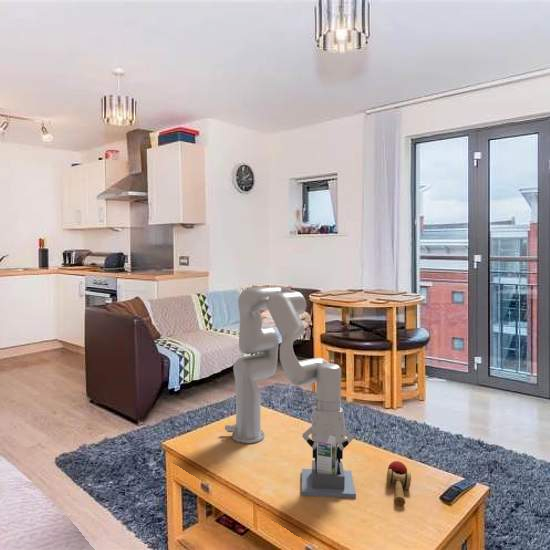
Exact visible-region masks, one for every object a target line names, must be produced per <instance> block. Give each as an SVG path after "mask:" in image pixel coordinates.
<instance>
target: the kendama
mask: <svg viewBox="0 0 550 550" xmlns="http://www.w3.org/2000/svg"><path fill="white" fill-rule="evenodd" d="M385 480H386V481H385V482H386V485H391V484H393V483H395V486H394V487H395V488H394V504H395V505H396V506H397V507H403V506H405V504H406V499H405V495H404V489H405V490H408V491H409V490H410V488H411V482H412V473H410V472H408V469H407V466H406V465H405V464H404V463H403V462H402V461H399V460H397V461H392V462H391V463H389V465H388V467H387V473H386V479H385ZM403 488H404V489H403Z"/></svg>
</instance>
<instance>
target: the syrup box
mask: <svg viewBox="0 0 550 550" xmlns="http://www.w3.org/2000/svg"><path fill="white" fill-rule="evenodd" d="M328 437H329V439H328V442H325V443H319V442H317V474H333V475H337V461H338V459H337V452H338V443H336V436H335V435H330V436H328Z"/></svg>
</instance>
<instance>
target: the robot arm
mask: <svg viewBox="0 0 550 550" xmlns="http://www.w3.org/2000/svg"><path fill="white" fill-rule="evenodd" d="M237 306H238V312H239V331H238V348H239V351H240V352H241V353H242V354H245V355H246V356H242V357H240V358H238V359H237V360H236V361H235V362H234V363H233V368H232V370H233V376H234V382H235V424H233V425H232V424H231V425H230V424H225V425H224V431H226V432H227V433H231V438H232V440H233V441H234V442H236V443H240V442H241V444H255V443H258V442H261V441H262V440H263V439H264V438H265V432H264V431H263V430H261V417H262V416H261V415H262V414H261V412H262V411H261V409H262V408H261V397H262V396H261V389H260V387H259V386H258V385H257V383H256V382H257V381H259V380H262V379H268V378H271V377H273V376H274V375H275V374H276V372H277V368H278V356H279V361H280V364H281V367H282V369H283V371H284V373H285V375H286V377H287V378H288V380H289V381H290V382H291V383H292V384H293V385H295V386H305V385H309V384H313V383H316V390H315V391H316V392H315V393H316V395H315V399H311V405H314V407H313V410H312V417H311V426H310V427H309V428H308V429H307V430H305V432H302V434H301V436H302V438H303V439H304V441H306V443H307V444H308V445H309V446H310V447H311V449H312V458H313V459H314V460H315V462H317V442H319V443H325V442H328V439H329V437H328V436H330V435H335V436H336V443H338V452H337V461H338V462H339V463H340V461H341V460H343V451H344V450H345V448H346V447H347V446H349V443H351V442H352V441H353V440H354V435H353V434H352V433H351V432H350V431H349V430H348V429H347V428H346V426H345V425H346V424H345V422H346V421H345V414H344V409H343V408H342V406H341V405H342V402H341V401H342V399H341V398H342V368H341V366H340V365H339V364H336V363H332V362H329V361H327V360H326V359H324V358H322V357H313V358H308V359H303V360H298V358H297V356H296V354H295V352H294V347H293V346H294V345H293V344H294V342H295V341H297V340H298V339H299V338H300V337H302V336H303V334H304V333H305V331H306V328H305V325H304V323H303V320H302V319H301V317H300V316H299V315H302V314H305V312H306V309H307V301H306V299H305V296H304V295H303V294H302V293H301V292H299V291H297V290H293V289H291V288H286V287H284V286H275V285H274V286H258V287H250V288H246V289H244V290H242V292H240V294H239V296H238V299H237ZM266 310H268V313H269V314H270V316H271V318H272V320H273V322H274V325H275V326H276V328H277V331H278V332H279V334H280V337H281V342H280V346H279V336H278V333H277V331H276V330H275V329H274V328H272V327H271V326H263V318H262V314H261V313H260V311H266ZM310 435H311V437H310Z"/></svg>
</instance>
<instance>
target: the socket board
mask: <svg viewBox="0 0 550 550" xmlns="http://www.w3.org/2000/svg"><path fill="white" fill-rule="evenodd" d="M355 488H356V487H355V483H354V478H353V474H352V470H349V469H347V470H345V469H344V464H343V461H341V460H340V463H339V462H338V460H337V475H333V474H317V462H315V459H314V460H313V459H312V460H311V468H301V496H302V497H326V498H327V497H329V498H330V497H331V498H347V499H348V498H352V499H357V491H356V489H355Z"/></svg>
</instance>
